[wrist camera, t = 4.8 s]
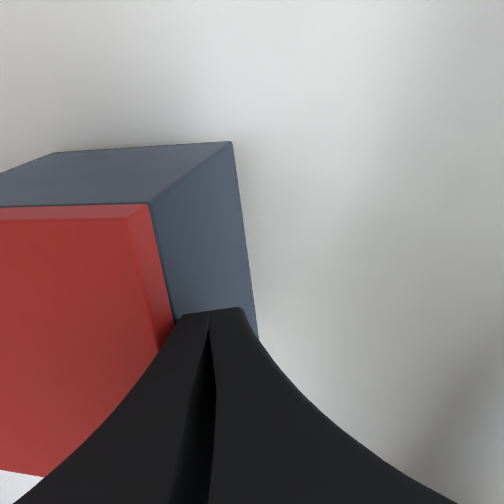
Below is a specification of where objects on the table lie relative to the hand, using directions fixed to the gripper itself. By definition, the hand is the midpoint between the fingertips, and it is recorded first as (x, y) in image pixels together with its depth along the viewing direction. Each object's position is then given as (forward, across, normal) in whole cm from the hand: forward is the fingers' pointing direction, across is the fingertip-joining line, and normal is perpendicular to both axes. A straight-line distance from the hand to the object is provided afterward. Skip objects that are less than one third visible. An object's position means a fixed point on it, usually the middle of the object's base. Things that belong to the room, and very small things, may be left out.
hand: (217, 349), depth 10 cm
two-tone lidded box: (+6, +2, 0) cm, 6 cm away
